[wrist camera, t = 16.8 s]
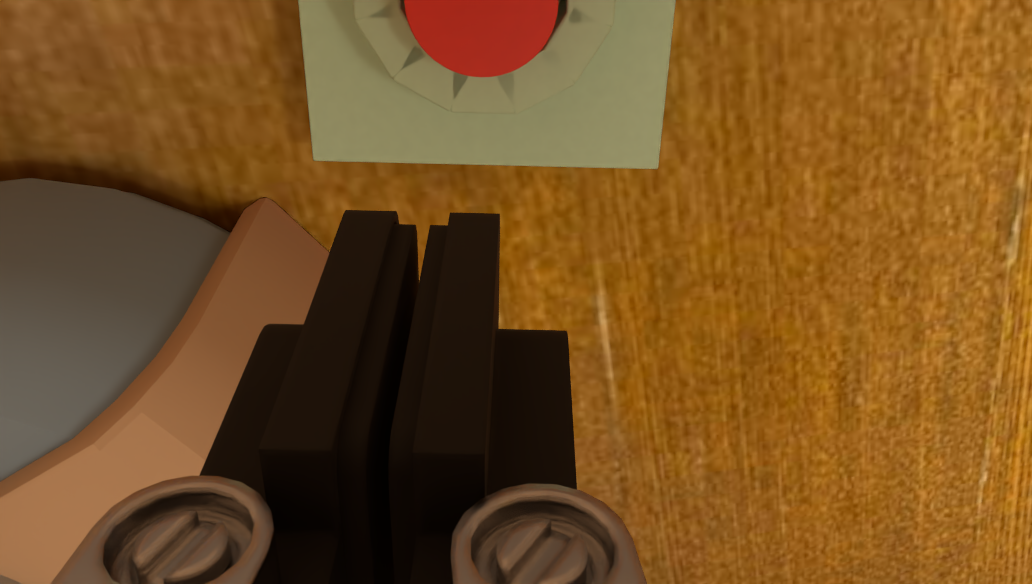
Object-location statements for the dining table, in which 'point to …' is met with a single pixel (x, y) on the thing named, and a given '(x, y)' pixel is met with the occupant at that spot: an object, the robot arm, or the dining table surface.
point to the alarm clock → (123, 348)
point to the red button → (482, 32)
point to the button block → (488, 90)
